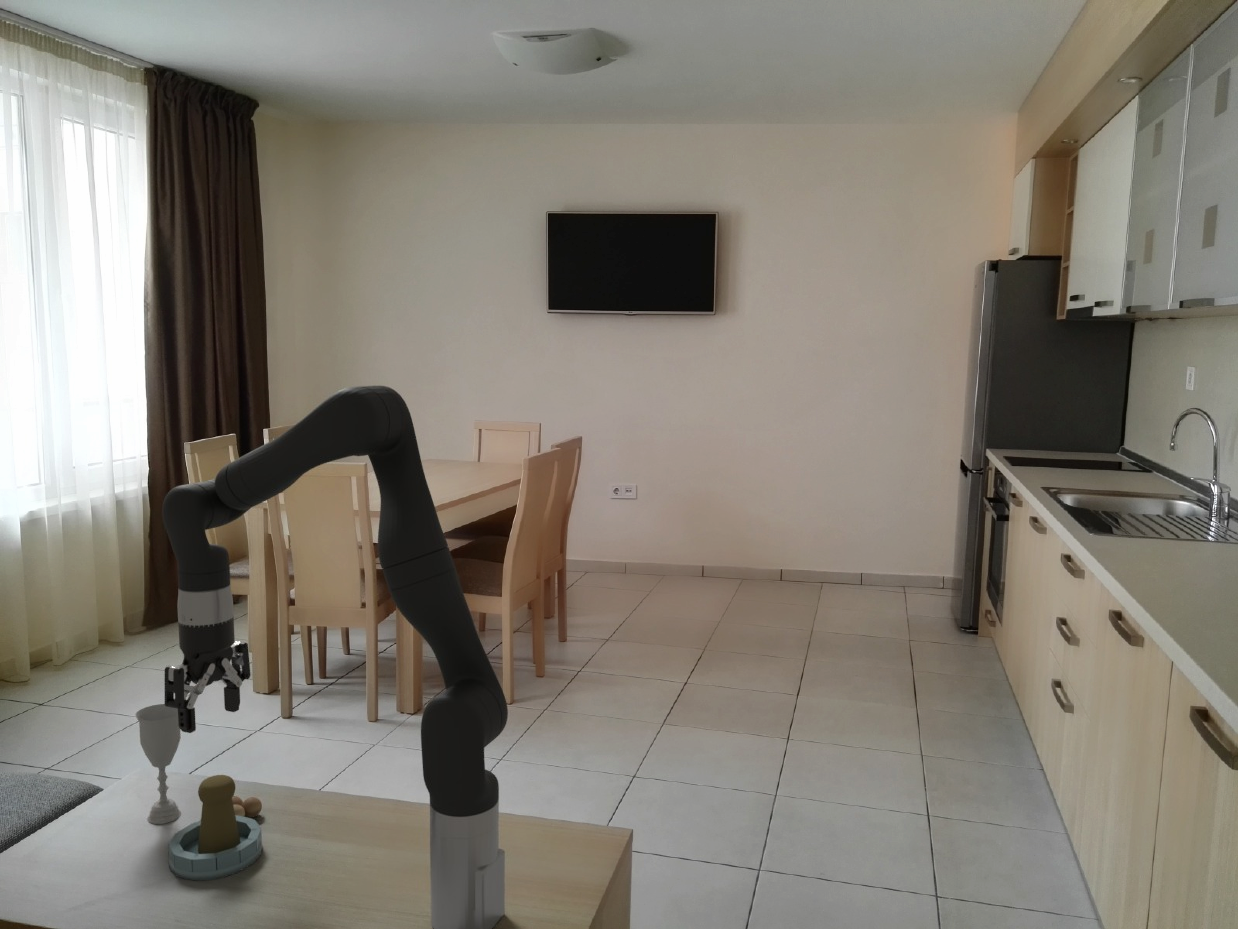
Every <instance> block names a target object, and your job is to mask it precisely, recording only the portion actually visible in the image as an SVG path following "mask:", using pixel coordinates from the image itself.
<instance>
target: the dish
mask: <svg viewBox="0 0 1238 929" xmlns="http://www.w3.org/2000/svg"><path fill="white" fill-rule="evenodd" d="M235 816H236V822H237V827H238V832H239V837H240V842H241V843H240V844H239V845H237V846H236V847H234V848H231V849H228V850H225V851H221V852H218V853H210V854H199V853H198V844H199V834H200V824H201V820H199V821H195V822H192V823H190V824H189V825H187V826H185V827H183V828H182V829H180V830H179V831H177V832H176V833H175V834H174V835H173V836H172V838H171V839H170V841H169V844H168V845H167V846H168V864H169V870H170V872H171V873H172V874H173V875H174V876H176V877H178V878H181V879H184V880H191V881H210V879H211V880H216V878H217V879H221V878H224V877H223V876H225V877H228V875H229V876H230V874H231V875H233V874H232V873H234V874H236V872H237V873H239V872H241V871H242V870H241V869H243V870H245V869H246V867H247V866H248V867H249V865H250V864H251V863H252V862H254V861H255V860H256V859H257V858H258V859H259V857H260V856H261V854H262V852H261V851H263V844H262V842H263V841H262V837H263V836H262V827H261V826H260V824H259V823H258V822H257V821H256V819H254V818H248V817H246V816H245V817H243V816H239V815H238V816H237V815H235ZM259 855H260V856H259ZM258 856H259V857H258ZM258 859H257V860H258ZM257 860H256V861H257ZM256 861H255V862H256ZM255 862H254V863H255ZM252 864H253V863H252ZM252 864H251V865H252ZM251 865H250V866H251ZM248 867H247V868H248ZM244 868H245V869H244ZM240 870H241V871H240ZM238 871H239V872H238ZM220 877H221V878H220Z"/></svg>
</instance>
